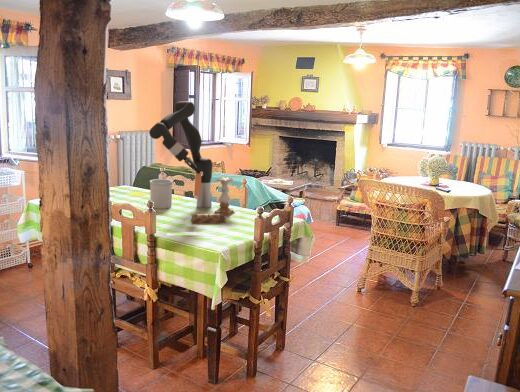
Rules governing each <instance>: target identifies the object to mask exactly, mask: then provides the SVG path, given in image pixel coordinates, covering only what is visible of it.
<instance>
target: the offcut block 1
mask: <svg viewBox="0 0 520 392" xmlns="http://www.w3.org/2000/svg"><path fill="white" fill-rule="evenodd" d="M208 214H209V213H197V218H208Z"/></svg>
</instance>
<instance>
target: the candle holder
mask: <svg viewBox="0 0 520 392" xmlns="http://www.w3.org/2000/svg"><path fill="white" fill-rule="evenodd" d="M216 181H217V182H220V184H221V187H220V190H221V193H220V196H219V198H218V202H219V203H220V204H219V205H218V206H219V208H218V209H216V210H215V211H214V213H213V214H224V217H230V216H233V214H236V212H235V211H234V209H231V208H230V204H229V203H230V201H231V197H230V196H229V194H228V191H229V187H228V185H229V183H230V182H233V181H234V178H233V177H217V178H216Z"/></svg>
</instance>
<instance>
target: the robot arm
mask: <svg viewBox="0 0 520 392" xmlns="http://www.w3.org/2000/svg"><path fill="white" fill-rule="evenodd" d="M174 110H175V112H172V113H170V114H168V115H166V116H165V117H164V118H162V119H161V120H160V121H159V122H157V123H155V124H154V125H153V126H152V127H151V128H150V129H149V136H150V137H151V138H152V139H153V140H154V139H155V140H158V139H160V138H161V137H163V140H162V145H163V146H164V147H165V148H166V149H167V150H168V151H169V153H170V154H171V155H172V156H174V158H175V160H177V161H179V162H182V161H184V164H186V166H188V167H189V168H191V170H193V171H195V172H197V173H198V174H199V173H200V172H201V173H202V175H201V192H200V196H196V208H199V209H200V208H201V209H207V208H210V207H212V196H213V195H212V194H213V193H212V191H211V187H212V186H211V185H212V183H211V181H212V178H213V177H212V176H213V174H212V173H213V162H212V159H210V158H206V157H202V155H201V151H200V149H201V147H202V142H203V140H202V136H201V133H200V131H199V130H198V129H197V128H196V126H195V125H193V124H192V123H191V121H190V119H189V117H191V116H193V115H194V114H195V110H196V107H195V104H194V102H191V101H187V100H186V101H183V100H182V101H177V102H176V103H175V105H174ZM179 123H180V126H181V127H182V131H183V133H184V137H185V140H186V142H187V144H188V147H189V150H190V151H188V150H187V149H186V148H185V147H184V146H183V145H182V144H181V143H180V142H178V141H177V140H176V139H175V138H174V136H173V135H172V134H171V132H170V130H171V129H172V128H173V127H174V126H175V125H177V124H179ZM189 153H191V157H192V159H191V157H190V156H189V157H188V155H189Z"/></svg>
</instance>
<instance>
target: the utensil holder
mask: <svg viewBox="0 0 520 392" xmlns="http://www.w3.org/2000/svg"><path fill="white" fill-rule="evenodd" d="M149 187H150V188H149V190H150V192H149V194H150V201H151V200H152V201H153V202H154V208H153V209H160V210H162V209H169V208H171V207H172V204H173V203H172V200H173V199H172V198H173V180H171V179H167V178H155V179H151V180H149Z"/></svg>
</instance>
